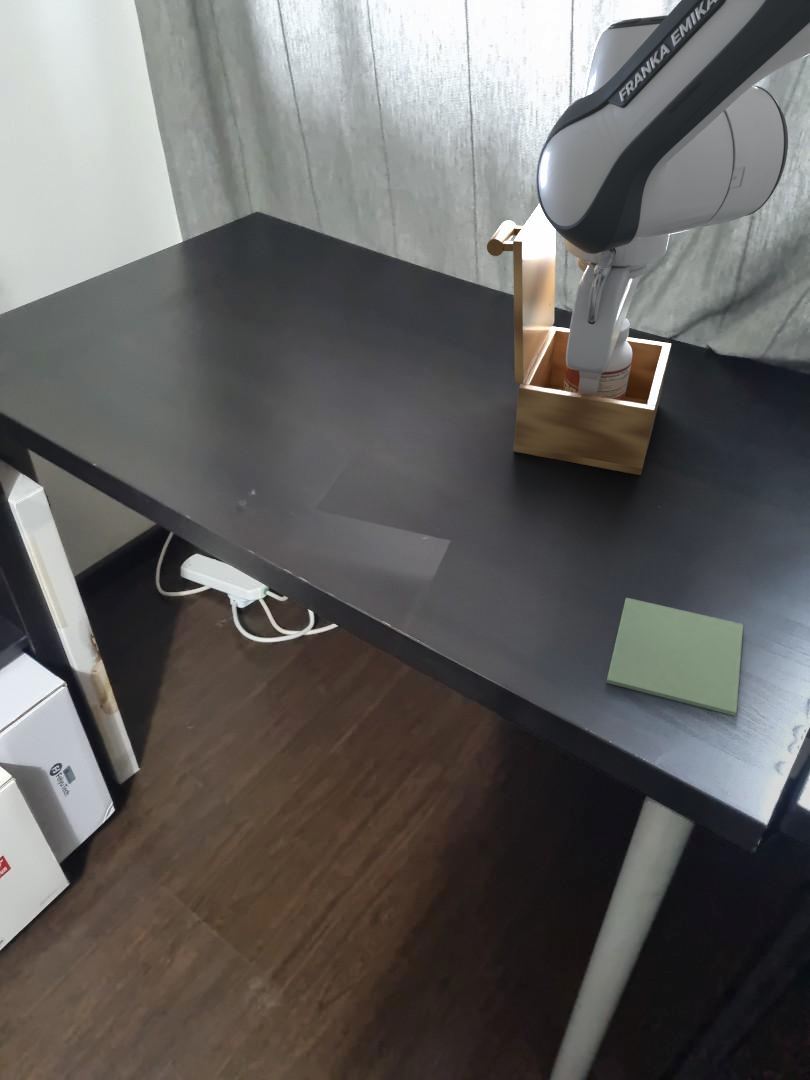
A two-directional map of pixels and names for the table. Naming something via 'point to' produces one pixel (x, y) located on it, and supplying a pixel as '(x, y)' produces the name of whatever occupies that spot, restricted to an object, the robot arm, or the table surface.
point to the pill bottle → (609, 370)
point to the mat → (678, 656)
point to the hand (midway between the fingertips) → (596, 369)
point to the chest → (590, 409)
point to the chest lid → (529, 284)
